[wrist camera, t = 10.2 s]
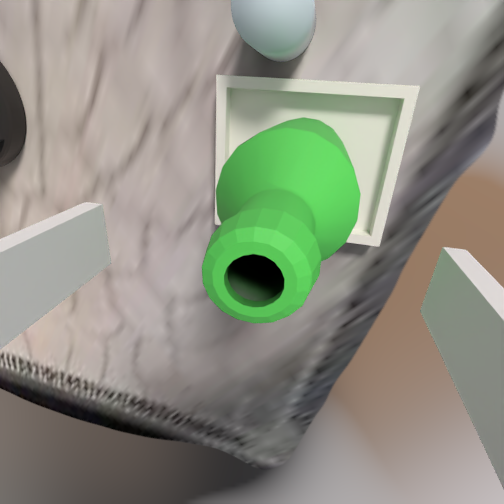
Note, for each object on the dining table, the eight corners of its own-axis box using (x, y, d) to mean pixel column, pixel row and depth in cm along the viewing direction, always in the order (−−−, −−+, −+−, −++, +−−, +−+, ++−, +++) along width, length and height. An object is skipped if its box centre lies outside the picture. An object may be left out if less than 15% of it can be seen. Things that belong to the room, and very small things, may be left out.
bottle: (284, 216, 36) (218, 397, 14) (245, 146, 34) (90, 229, 12) (360, 179, 33) (431, 338, 11) (322, 98, 30) (311, 86, 8)
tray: (220, 217, 39) (214, 224, 37) (223, 76, 32) (216, 74, 30) (376, 238, 36) (379, 246, 34) (413, 87, 29) (420, 86, 27)
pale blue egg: (249, 60, 31) (229, 49, 25) (252, -18, 29) (232, -51, 22) (311, 63, 30) (306, 53, 24) (320, -17, 28) (319, -52, 21)
